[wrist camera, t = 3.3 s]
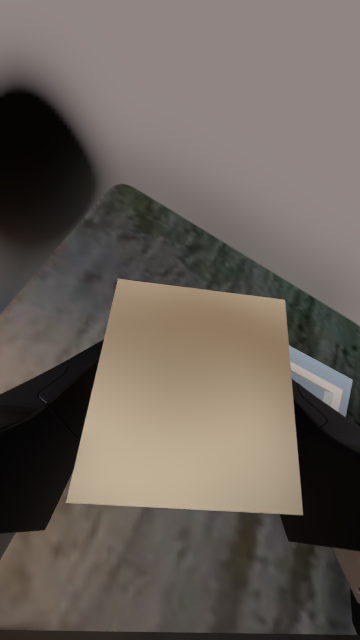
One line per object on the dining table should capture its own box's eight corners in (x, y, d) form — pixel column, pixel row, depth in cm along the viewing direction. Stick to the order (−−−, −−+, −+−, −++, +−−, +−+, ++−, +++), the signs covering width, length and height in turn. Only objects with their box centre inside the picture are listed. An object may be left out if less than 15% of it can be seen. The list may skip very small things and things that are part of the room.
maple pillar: (196, 380, 14) (302, 515, 3) (152, 376, 14) (65, 502, 3) (199, 336, 16) (284, 299, 4) (158, 331, 15) (117, 278, 4)
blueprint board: (314, 490, 13) (339, 515, 11) (209, 427, 14) (215, 441, 12) (339, 377, 16) (363, 381, 14) (250, 329, 16) (261, 326, 14)
